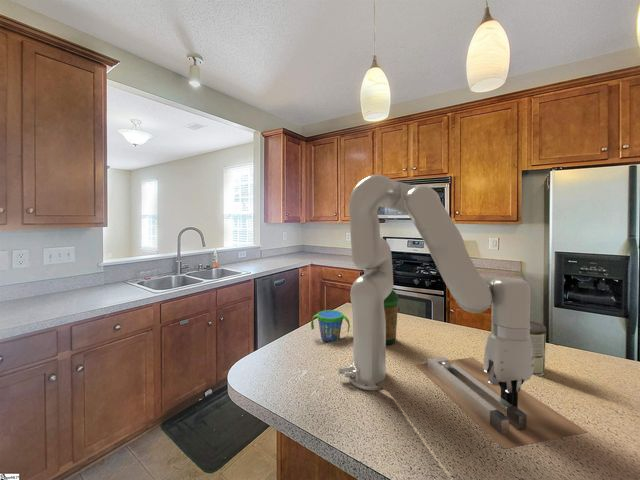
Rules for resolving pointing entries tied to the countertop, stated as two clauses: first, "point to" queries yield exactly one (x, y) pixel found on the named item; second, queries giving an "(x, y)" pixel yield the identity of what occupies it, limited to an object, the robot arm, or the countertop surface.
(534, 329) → the coffee can
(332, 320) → the snack cup
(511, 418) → the tongs arm
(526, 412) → the walnut board
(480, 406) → the tongs fixed arm
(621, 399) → the countertop surface
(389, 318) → the bottle
